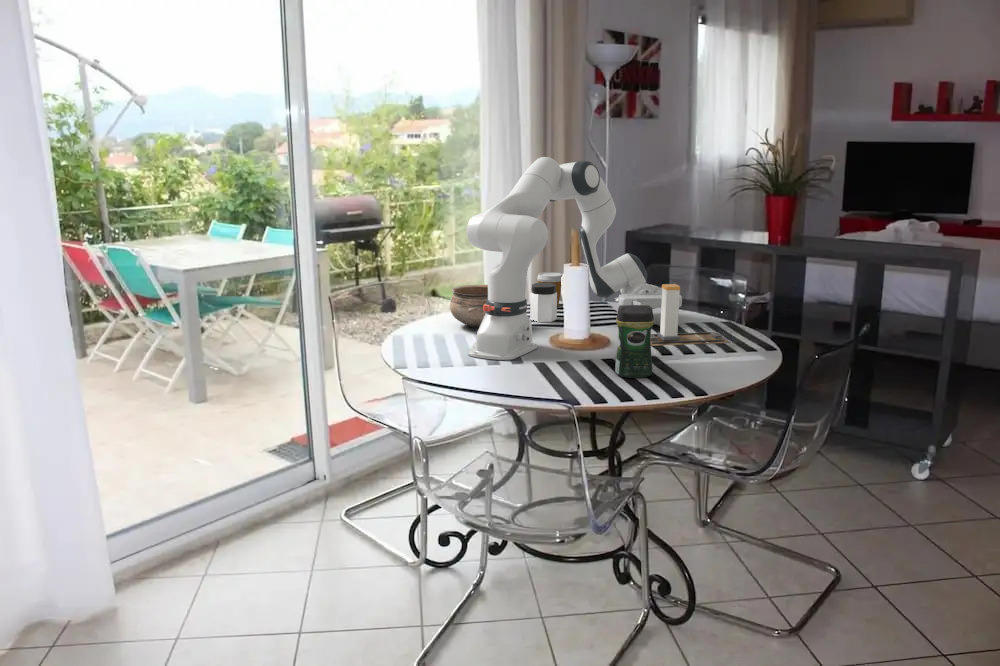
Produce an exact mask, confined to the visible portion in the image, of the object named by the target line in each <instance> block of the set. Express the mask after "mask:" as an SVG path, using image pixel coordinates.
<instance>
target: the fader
mask: <svg viewBox="0 0 1000 666" xmlns="http://www.w3.org/2000/svg"><path fill="white" fill-rule="evenodd" d="M661 287H662V304H661V308H660V309H661V310H660V311H661V312H660V328H659V329H660V331H658V332H656V334H657V336H658V337H660V338H661V339H662V340H663V341H668V340H680V336H678V335H677V333H679V332H678V331H679V330H678V329H679V327H678V326H679V314H680V313H679V311H680V307H679V296H680V295H681V286H680V285H678V284H676V283H670V284H669V283H665V284H661Z"/></svg>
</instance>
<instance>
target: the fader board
mask: <svg viewBox="0 0 1000 666" xmlns="http://www.w3.org/2000/svg"><path fill="white" fill-rule="evenodd" d="M677 335H678V336H680V340H668V341H663V340H662V339H661V338H660V337H658V336H657V333H651V347H654V346H658V347H659V346H678V345H679V346H680V345H681V346H682V345H685V346H686V345H704V344H705V345H706V344H712V345H713V344H731V343H732V342H731V341H729V340H728V339H726V338H724V337H723V335H722V334H720V333H719V332H715V331H707V332H706V331H705V332H704V331H703V332H701V331H700V332H699V331H698V332H678V333H677Z"/></svg>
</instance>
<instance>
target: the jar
mask: <svg viewBox="0 0 1000 666" xmlns="http://www.w3.org/2000/svg"><path fill="white" fill-rule="evenodd" d="M529 297H530V298H529V299H530V300H529V301H530V302H529V303H530V308H529V309H530V310H529V314H530V315H529V318H530V319H531V321H533V320H534V321H533V322H536V321H537V322H536V323H552V322H554V321H556V320H557V318H558V315H557V314H558V308H557V292H556V285H555V284H552V283H538V282H536V283H532V284H531V292H530V294H529Z"/></svg>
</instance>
